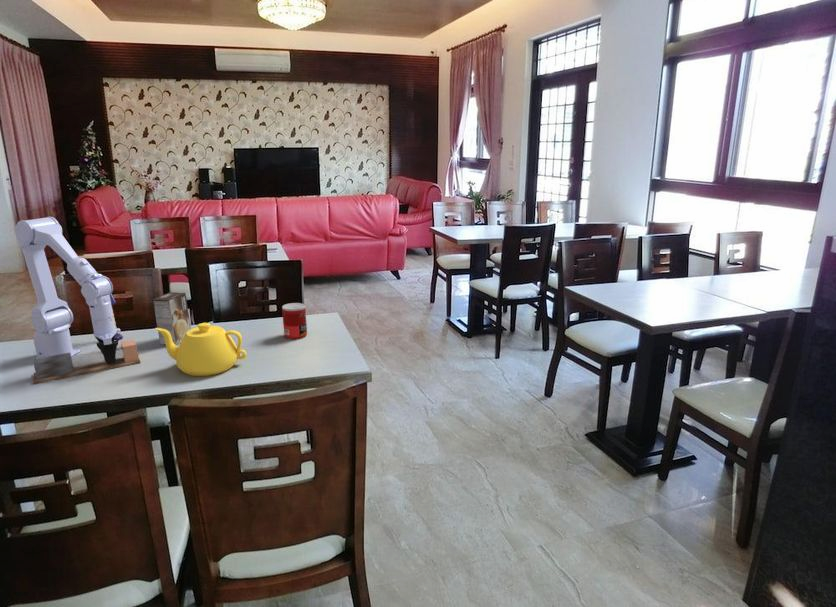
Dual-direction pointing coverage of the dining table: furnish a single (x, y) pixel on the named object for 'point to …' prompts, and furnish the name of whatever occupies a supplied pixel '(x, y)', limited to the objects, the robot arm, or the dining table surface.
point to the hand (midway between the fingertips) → (110, 359)
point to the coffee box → (172, 315)
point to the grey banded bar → (93, 357)
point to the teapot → (205, 350)
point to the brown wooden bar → (69, 367)
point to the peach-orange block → (129, 350)
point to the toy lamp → (117, 335)
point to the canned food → (294, 320)
